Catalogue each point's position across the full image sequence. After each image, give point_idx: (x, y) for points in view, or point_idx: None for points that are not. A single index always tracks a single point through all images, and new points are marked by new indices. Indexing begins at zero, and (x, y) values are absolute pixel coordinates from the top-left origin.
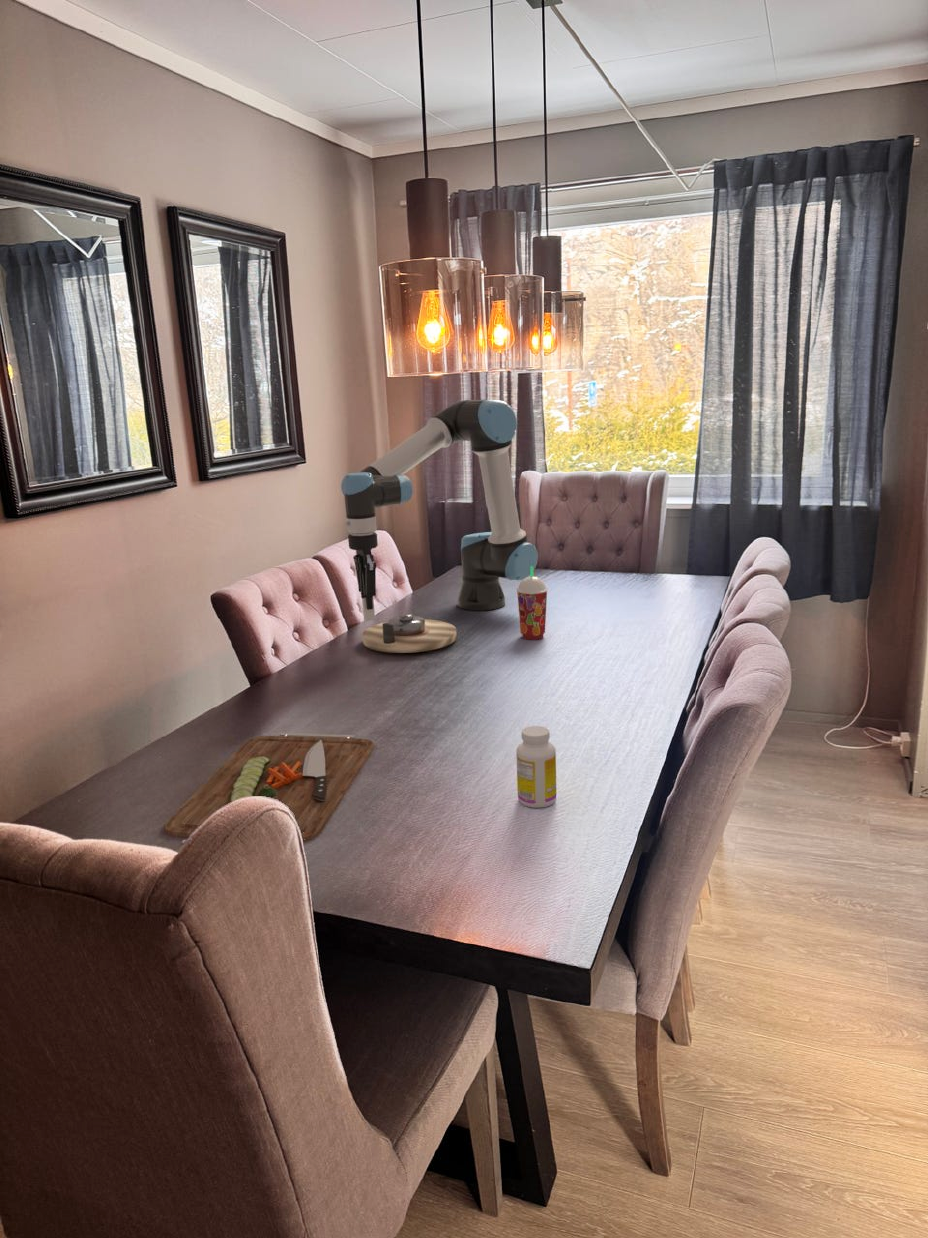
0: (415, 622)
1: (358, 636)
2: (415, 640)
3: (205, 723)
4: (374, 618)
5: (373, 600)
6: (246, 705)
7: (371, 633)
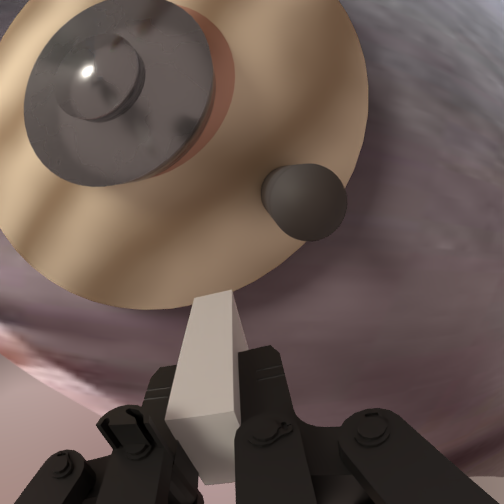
0: (161, 33)
1: (38, 295)
2: (298, 69)
3: (487, 468)
4: (232, 296)
5: (234, 378)
6: (471, 457)
7: (118, 267)
